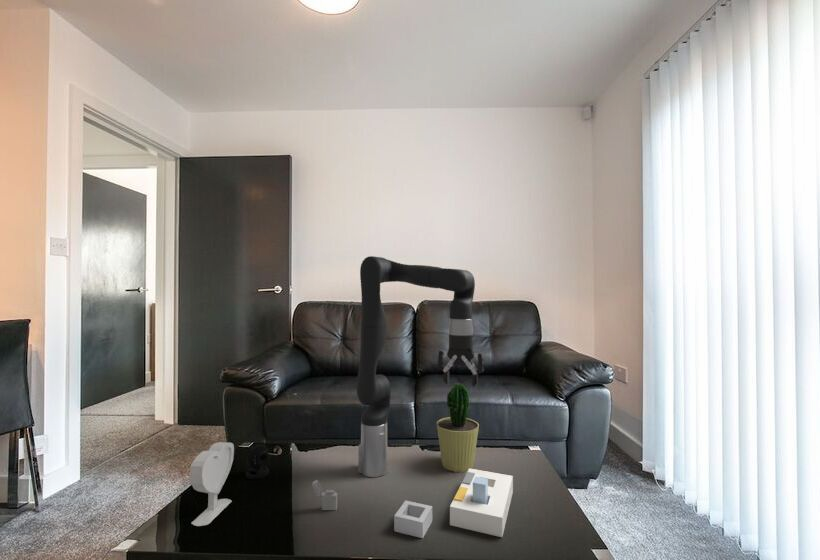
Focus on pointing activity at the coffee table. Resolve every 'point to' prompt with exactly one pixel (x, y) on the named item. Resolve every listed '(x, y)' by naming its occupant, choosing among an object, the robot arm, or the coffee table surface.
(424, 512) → the holster
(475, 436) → the potted cactus
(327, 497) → the lighter
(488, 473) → the port panel
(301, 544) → the coffee table surface
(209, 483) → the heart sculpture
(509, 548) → the coffee table surface
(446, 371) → the robot arm
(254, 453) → the webcam
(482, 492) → the plug
